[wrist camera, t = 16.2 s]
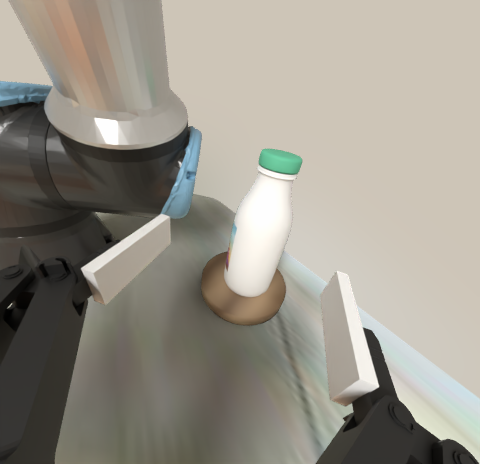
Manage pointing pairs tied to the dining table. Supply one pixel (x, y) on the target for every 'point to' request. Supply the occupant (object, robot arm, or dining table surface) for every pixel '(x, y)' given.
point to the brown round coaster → (239, 296)
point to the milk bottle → (262, 225)
